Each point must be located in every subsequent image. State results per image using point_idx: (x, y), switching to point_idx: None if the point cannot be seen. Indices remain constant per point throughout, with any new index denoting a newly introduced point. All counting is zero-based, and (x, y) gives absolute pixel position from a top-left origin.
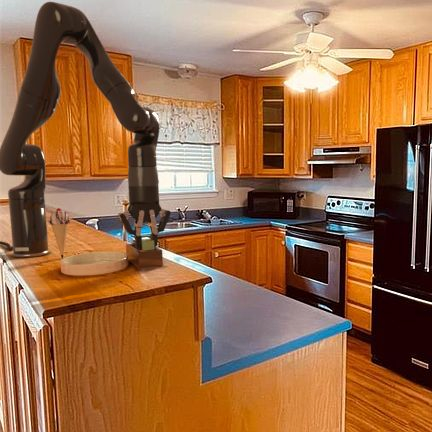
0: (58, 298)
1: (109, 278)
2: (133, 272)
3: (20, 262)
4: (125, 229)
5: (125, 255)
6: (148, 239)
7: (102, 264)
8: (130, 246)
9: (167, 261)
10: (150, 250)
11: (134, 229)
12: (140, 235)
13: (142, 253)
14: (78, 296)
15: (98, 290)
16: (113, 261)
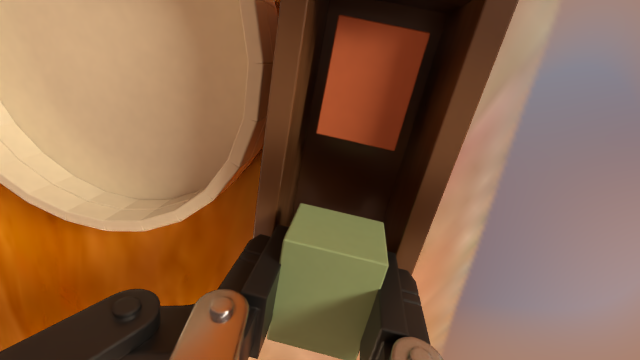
0: (14, 322)
1: (149, 255)
2: None
3: None
4: (64, 327)
5: (246, 104)
6: (352, 294)
7: (95, 225)
8: (279, 80)
9: (482, 181)
10: (422, 144)
11: (177, 355)
12: (250, 351)
13: None
14: None
15: None
16: (142, 227)
